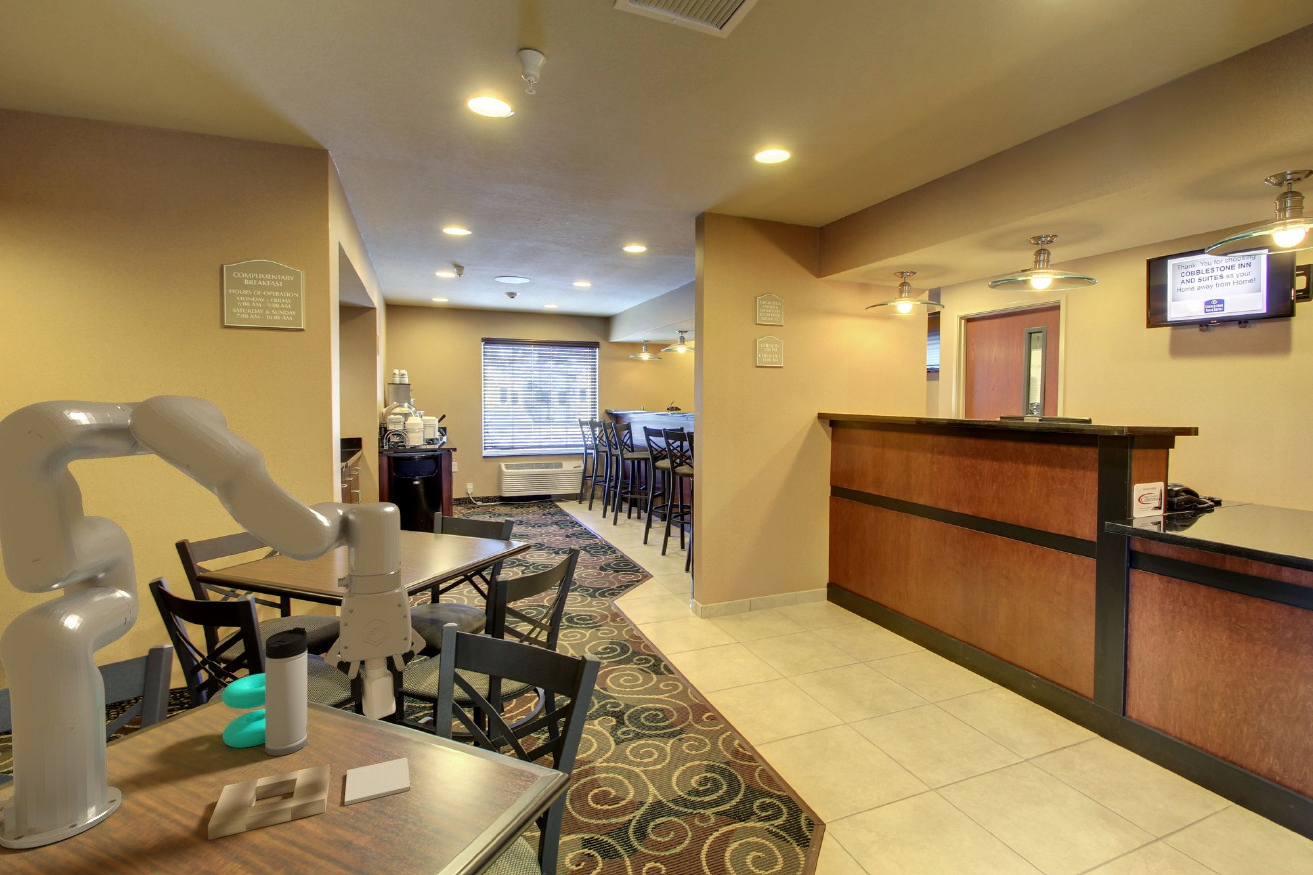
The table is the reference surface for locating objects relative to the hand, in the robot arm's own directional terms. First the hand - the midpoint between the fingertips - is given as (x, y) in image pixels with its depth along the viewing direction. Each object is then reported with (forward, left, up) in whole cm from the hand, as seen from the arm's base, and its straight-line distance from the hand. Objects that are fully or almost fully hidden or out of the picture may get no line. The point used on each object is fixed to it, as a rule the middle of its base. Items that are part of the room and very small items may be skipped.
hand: (377, 695), depth 95 cm
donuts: (-20, +25, -14) cm, 35 cm away
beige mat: (0, 0, -14) cm, 14 cm away
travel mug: (-15, +18, -14) cm, 27 cm away
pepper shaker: (0, 0, -3) cm, 3 cm away
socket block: (-14, 0, -14) cm, 20 cm away
